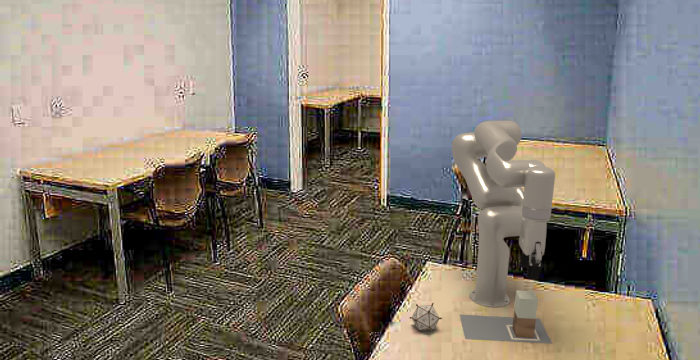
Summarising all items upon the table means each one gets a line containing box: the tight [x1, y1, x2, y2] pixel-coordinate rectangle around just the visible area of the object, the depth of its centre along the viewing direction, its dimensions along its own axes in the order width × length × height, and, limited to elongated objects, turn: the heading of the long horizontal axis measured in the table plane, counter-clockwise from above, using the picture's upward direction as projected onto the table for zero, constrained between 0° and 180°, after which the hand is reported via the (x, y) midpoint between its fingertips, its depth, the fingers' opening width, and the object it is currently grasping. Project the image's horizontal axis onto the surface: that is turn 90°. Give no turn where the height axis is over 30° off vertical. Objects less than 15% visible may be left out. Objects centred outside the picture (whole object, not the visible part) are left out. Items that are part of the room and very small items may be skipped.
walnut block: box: [512, 310, 536, 338], centre depth 165 cm, size 5×5×6 cm
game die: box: [408, 302, 443, 332], centre depth 166 cm, size 9×8×10 cm
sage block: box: [513, 290, 539, 319], centre depth 163 cm, size 5×5×6 cm
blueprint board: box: [459, 314, 553, 345], centre depth 168 cm, size 14×24×1 cm, turn 86°
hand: (529, 272), depth 161 cm, fingers open, 6 cm apart
